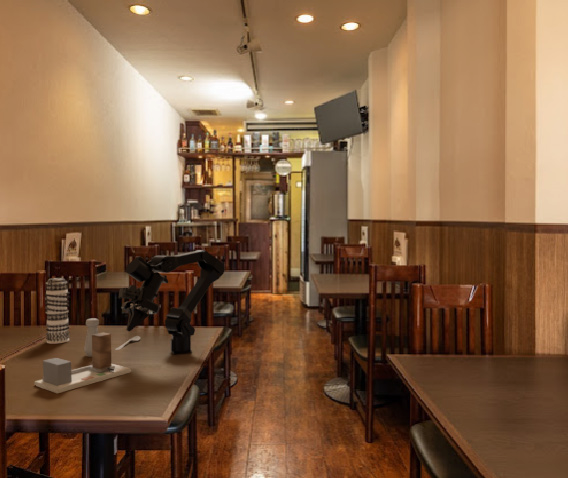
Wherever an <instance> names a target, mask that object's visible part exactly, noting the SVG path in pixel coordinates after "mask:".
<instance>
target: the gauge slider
mask: <svg viewBox="0 0 568 478" xmlns="http://www.w3.org/2000/svg"><path fill="white" fill-rule="evenodd" d="M91 359H92V361H91V362H92V364H91V365H93V366H90V365H89V366H90V367H89V369H90V370H94V371H97V372H104V371H108V370H111V371H114V369H115V366H113V365H112V364H113V363H112V334H111V333H108V332H98V334H93V335H92V357H91Z"/></svg>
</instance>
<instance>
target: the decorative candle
mask: <svg viewBox="0 0 568 478" xmlns="http://www.w3.org/2000/svg"><path fill="white" fill-rule="evenodd" d="M45 284H46V290H45V291H46V292H45V297H44V304H45V307H44V310H45V314H46V324H45V327H46V329H45V331H46V334H45V336H46V338H45V340H46V344H51V345H52V344H54V345H55V344H63V343H67V342H70V332H71V331H69V329H70V326H69V325H70V322H69V317H68V316H69V314H68V313H70V312H69V309H68V307H70V304H69V303H70V301H69V300H68V299H69V298H71V296H70V295H69V294H70V293H71V292H70V291H68V281H67V280H66V279H65V278H63V277H54V278H49V279H48V280H47V282H45Z"/></svg>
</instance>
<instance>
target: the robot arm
mask: <svg viewBox="0 0 568 478" xmlns="http://www.w3.org/2000/svg"><path fill="white" fill-rule="evenodd" d="M194 263H197V266H198V267H199V268H200V271H199V272H200V273H199V277H198V280H197V281H196V282H195V284H194V286H193V287H192V288H191V290H190V291H189V293H188V294H187V295H186V297H185V298H184V300H183V302H182V303H181V304H180V305H179V306H178V307H171V309H170V310H169V312H168V313H167V314H166V315H165V317H166V318H165V319H164V326H165V328H166V331H167V333H168V335H171V338H170V341H169V343H170V351H171V353H173V354H172V355H179V354H180V355H181V354H188V353H192V352H193V351H192V347H191V346H192V345H191V342H192V339H191V337H192V336H194V335H195V332H196V331H195V330H196V329H195V327H193V325H192V324H191V322H192V313H194V310H195V309H196V308H197V306H198V304H199V303H200V301H201V300H202V298H203V297H204V295H205V293H207V291H208V289H209V288H210V287H211V285H212V284H213V283H215V282H216V281H218V280H219V279H220V278H221V277H222V276H223V275H224V273H225V270H226V269H225V268H226V267H225V265H224V262H222V261H221V260H220V259H218V258H216V257H215V256H214V255H212V254H210V252H209V251H208V250H206V249H204V250H203V249H197V250H195V251H190V252H186V253H180V254H175V255H154V256H153V257H152V259H151V260H149V261H146V260H145V259H144V258H143V257H141V256H136V257H135V259H133V260H132V261H130V262H129V263H128V264H127V266H126V267H125V272H126V274H127V275H129V276H130V277H131V278H133V279H134V280H136V281H137V282H139V283H142V284H141V285H140V287H137V286H136V285H132V284H130V285H128V287H122V288H119V293H118V299H125V300H129V301H125V302H123V303H122V305H121V307H120V308H121V309H122V310H124V311H126V312H128V320H127V326H126V331H127V332H131V331H133V330H134V329H135V328H136V327H137V326H139V324H140V323H142V322H143V321H144V320H146V319H147V318H148V317H150V314H149V311H150V312H152V314H153V315H157V314H158V312H159V311H160V305H159V304H157V303H156V302H155V301H154V299H156V298H158V296H159V294H158V292H159V290H160V288H161V286H162V284H168V283H169V280H168V277H167V274H168V273H171V272H173V271H175V270H176V269H177V268H179V267H183V266H186V265H189V264H194ZM161 273H163V274H161ZM164 273H165V274H164Z"/></svg>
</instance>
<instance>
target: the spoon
mask: <svg viewBox="0 0 568 478" xmlns="http://www.w3.org/2000/svg"><path fill="white" fill-rule="evenodd" d="M140 340H141V336H139V335H136V336H133V337H131V338H130V339H128V340H127V341H126V342H124V343H122V344H121V345H119V346H118V347H116V348H115V351H116V350H118V351H119V350H121V349H123V348H124V347H125V346H126V345H127V344H128V343H129V342H138V341H140Z"/></svg>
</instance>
